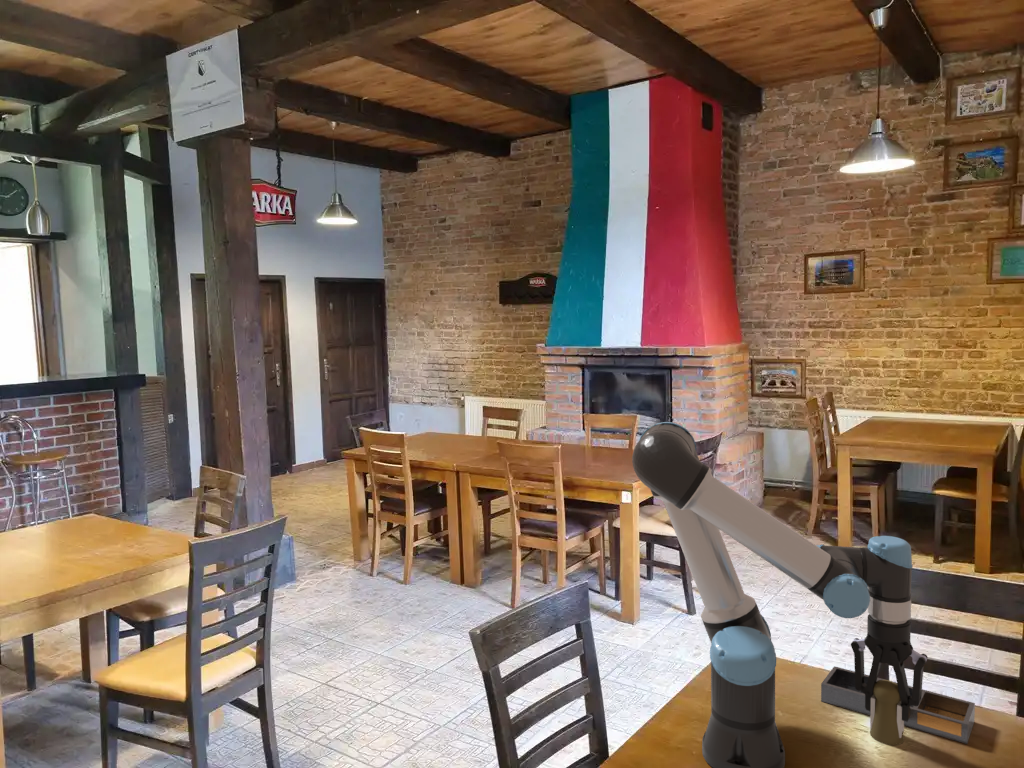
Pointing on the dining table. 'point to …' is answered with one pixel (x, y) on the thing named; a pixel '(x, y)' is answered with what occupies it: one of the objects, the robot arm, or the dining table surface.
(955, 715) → the rack
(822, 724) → the dining table surface
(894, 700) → the olive pawn-shaped piece
